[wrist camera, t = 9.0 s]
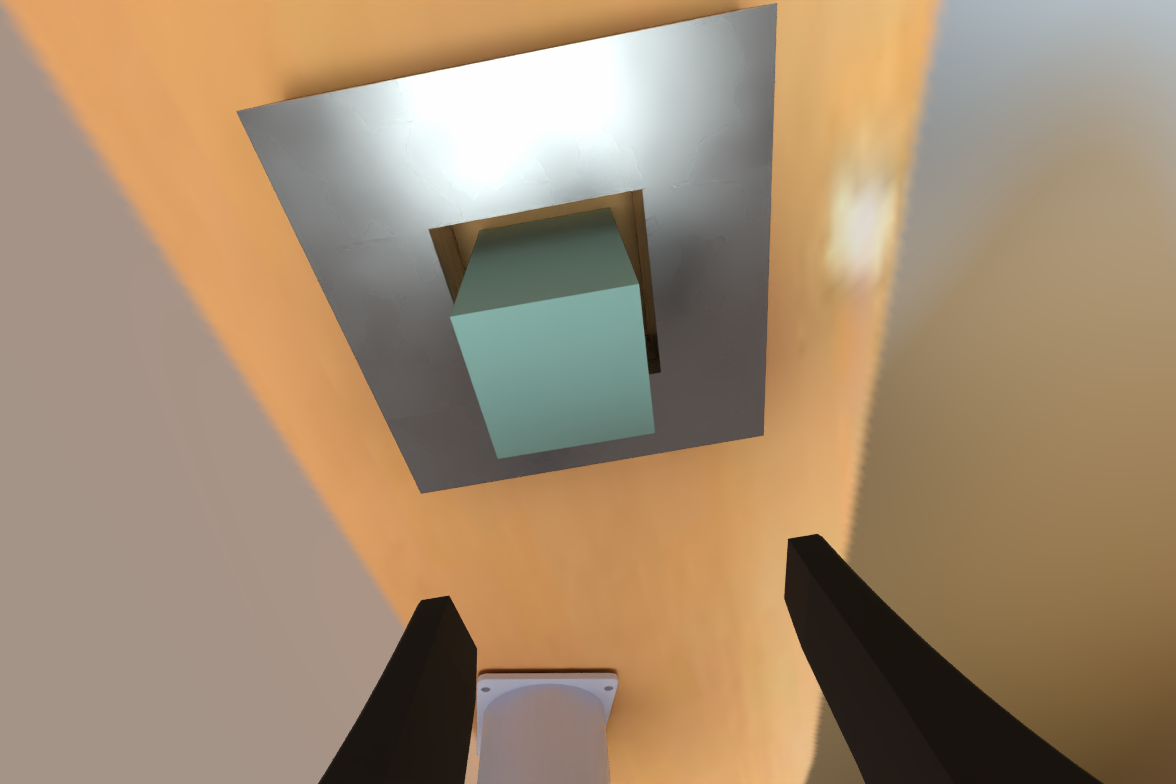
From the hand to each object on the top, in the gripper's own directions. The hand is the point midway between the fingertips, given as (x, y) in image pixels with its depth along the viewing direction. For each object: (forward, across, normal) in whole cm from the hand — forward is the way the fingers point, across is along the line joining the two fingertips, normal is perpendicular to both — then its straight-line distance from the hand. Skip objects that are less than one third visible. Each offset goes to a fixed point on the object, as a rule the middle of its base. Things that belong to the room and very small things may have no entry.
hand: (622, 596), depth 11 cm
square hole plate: (+9, +1, -4) cm, 10 cm away
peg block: (+9, 0, -4) cm, 10 cm away
